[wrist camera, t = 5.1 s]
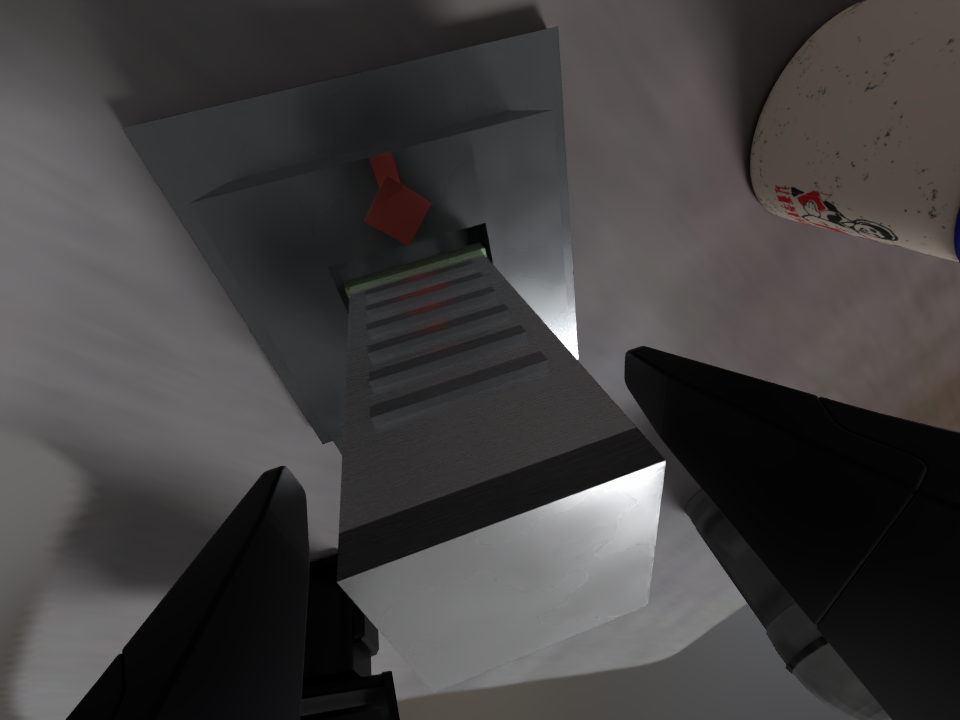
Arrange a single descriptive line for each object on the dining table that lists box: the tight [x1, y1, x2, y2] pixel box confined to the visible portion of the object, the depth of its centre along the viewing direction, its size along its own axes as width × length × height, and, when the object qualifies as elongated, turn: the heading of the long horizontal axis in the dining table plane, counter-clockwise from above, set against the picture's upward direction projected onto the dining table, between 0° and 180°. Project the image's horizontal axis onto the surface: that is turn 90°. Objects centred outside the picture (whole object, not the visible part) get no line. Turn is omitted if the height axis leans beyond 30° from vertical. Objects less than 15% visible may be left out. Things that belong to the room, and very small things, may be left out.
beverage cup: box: [686, 489, 892, 720], centre depth 27 cm, size 7×7×20 cm
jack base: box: [123, 26, 578, 454], centre depth 15 cm, size 14×14×5 cm
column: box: [337, 242, 666, 693], centre depth 9 cm, size 4×4×9 cm
